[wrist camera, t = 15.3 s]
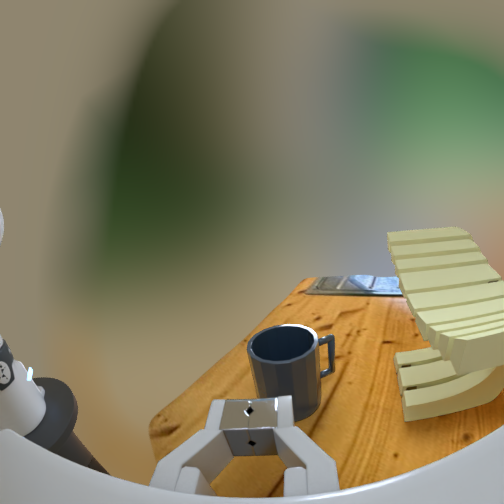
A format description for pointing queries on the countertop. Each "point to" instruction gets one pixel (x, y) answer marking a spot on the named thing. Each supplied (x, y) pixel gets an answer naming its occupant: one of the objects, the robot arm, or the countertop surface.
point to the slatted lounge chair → (448, 322)
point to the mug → (290, 365)
